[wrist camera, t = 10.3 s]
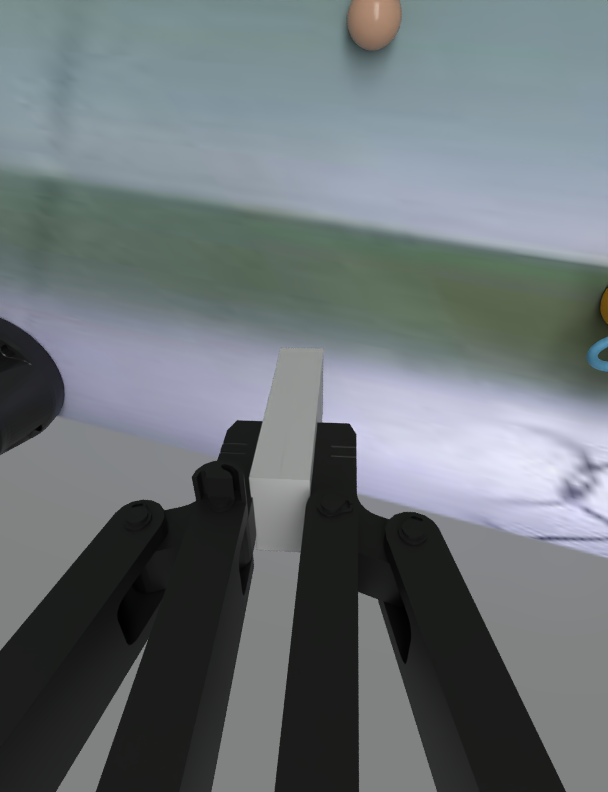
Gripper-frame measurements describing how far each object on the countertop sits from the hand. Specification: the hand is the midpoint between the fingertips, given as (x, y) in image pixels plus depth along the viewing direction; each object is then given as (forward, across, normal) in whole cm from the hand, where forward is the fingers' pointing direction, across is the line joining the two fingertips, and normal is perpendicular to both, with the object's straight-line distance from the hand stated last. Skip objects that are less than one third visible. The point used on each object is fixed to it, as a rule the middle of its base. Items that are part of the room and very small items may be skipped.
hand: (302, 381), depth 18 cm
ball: (+26, -3, -12) cm, 28 cm away
